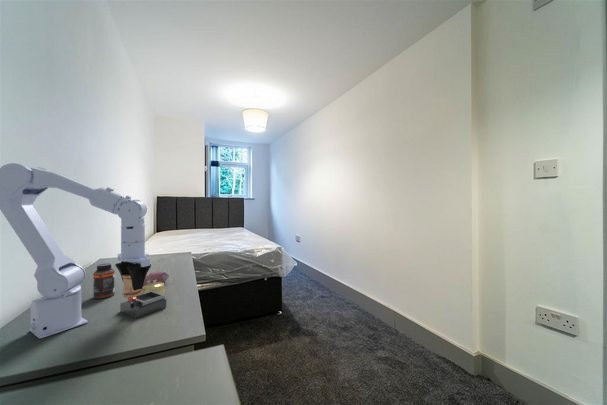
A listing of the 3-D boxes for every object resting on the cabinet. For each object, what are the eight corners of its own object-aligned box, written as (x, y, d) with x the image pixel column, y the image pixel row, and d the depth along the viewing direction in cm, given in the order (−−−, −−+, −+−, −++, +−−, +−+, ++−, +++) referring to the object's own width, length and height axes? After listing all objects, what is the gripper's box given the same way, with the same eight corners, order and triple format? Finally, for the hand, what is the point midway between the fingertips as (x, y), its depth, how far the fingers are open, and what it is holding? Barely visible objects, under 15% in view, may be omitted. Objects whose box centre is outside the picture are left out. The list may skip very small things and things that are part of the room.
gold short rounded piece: (149, 301, 83) (149, 289, 83) (139, 297, 86) (139, 286, 86) (168, 295, 88) (168, 284, 88) (158, 291, 92) (158, 281, 92)
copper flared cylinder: (128, 298, 68) (127, 277, 68) (119, 296, 70) (118, 275, 70) (146, 293, 72) (146, 272, 72) (137, 290, 75) (137, 270, 75)
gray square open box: (135, 318, 71) (135, 302, 71) (120, 311, 75) (120, 296, 75) (166, 307, 78) (166, 292, 78) (150, 301, 83) (150, 287, 83)
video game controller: (141, 293, 94) (144, 278, 92) (136, 285, 96) (140, 271, 94) (168, 286, 102) (171, 272, 100) (163, 279, 104) (167, 266, 102)
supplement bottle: (119, 293, 90) (119, 262, 90) (104, 299, 84) (104, 266, 84) (104, 292, 90) (104, 262, 90) (88, 299, 84) (88, 266, 84)
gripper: (160, 241, 71) (160, 288, 71) (135, 237, 79) (135, 279, 79) (134, 245, 65) (134, 296, 65) (109, 240, 73) (109, 286, 73)
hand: (133, 287), depth 72 cm, fingers closed on copper flared cylinder, 5 cm apart
